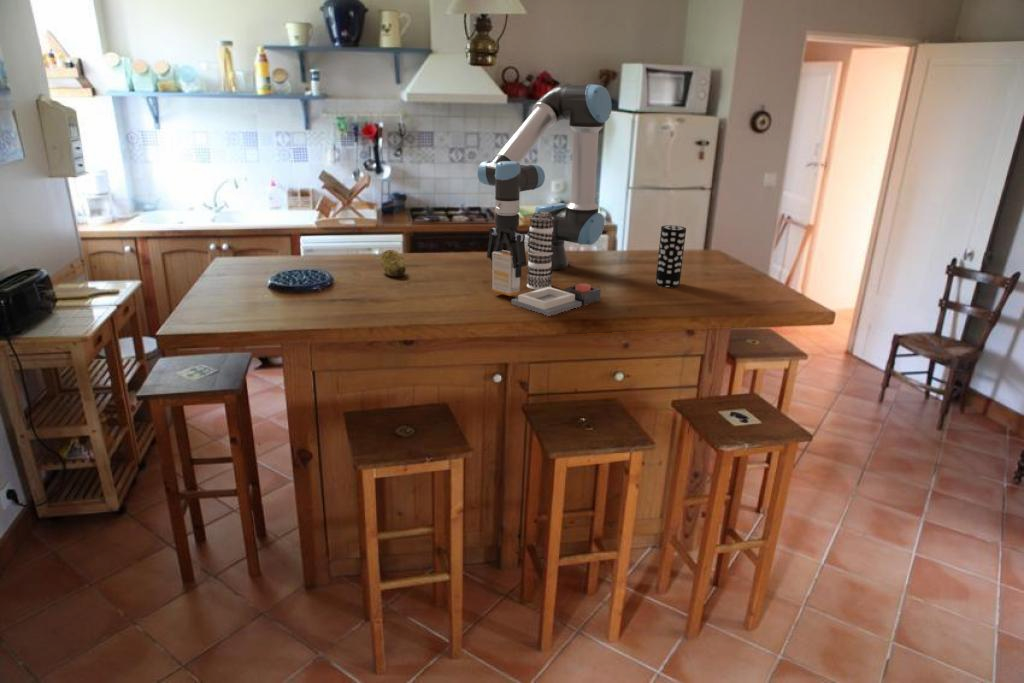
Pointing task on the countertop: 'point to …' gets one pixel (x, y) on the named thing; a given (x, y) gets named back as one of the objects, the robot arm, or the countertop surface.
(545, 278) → the decorative candle
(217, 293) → the countertop surface
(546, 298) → the plate
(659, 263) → the spotted tube
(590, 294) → the button housing
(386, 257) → the potato
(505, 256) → the supplement box
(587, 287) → the button
